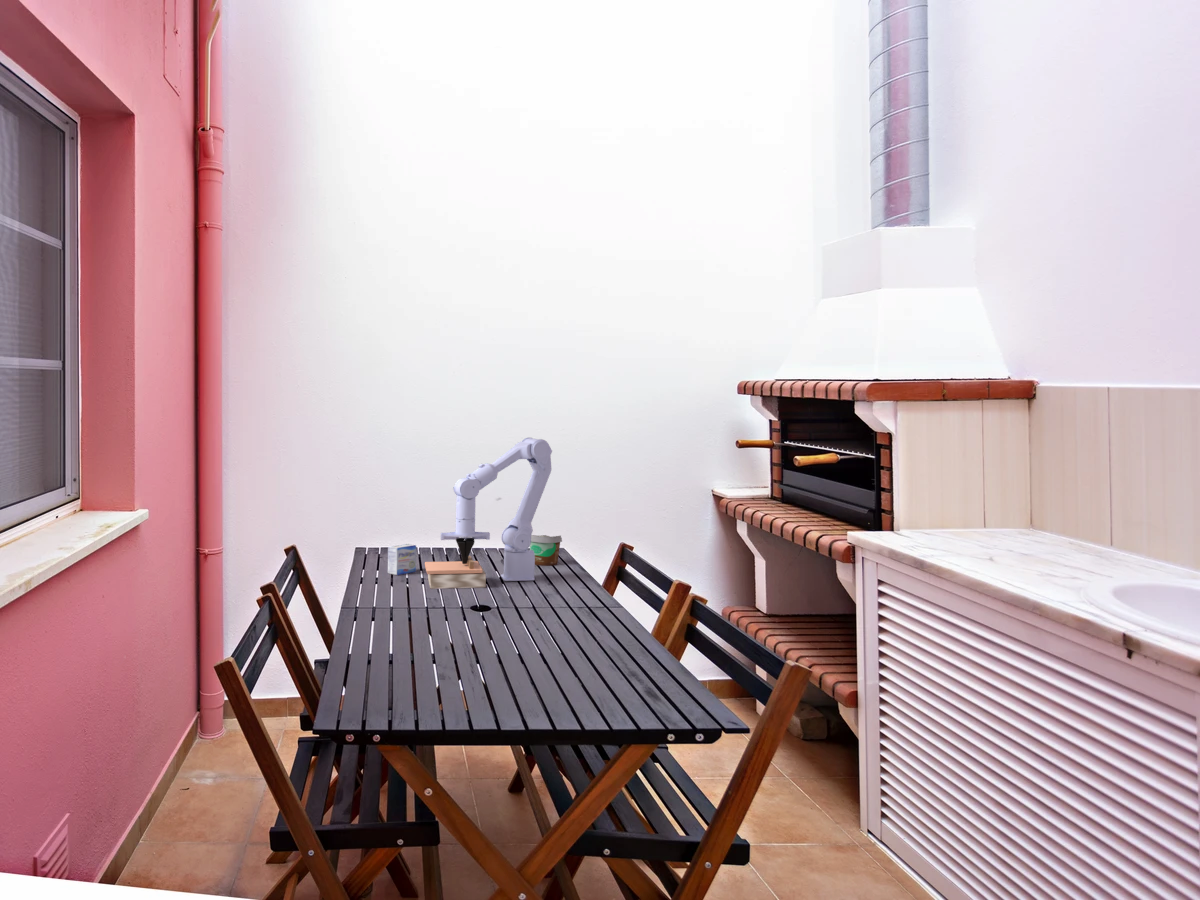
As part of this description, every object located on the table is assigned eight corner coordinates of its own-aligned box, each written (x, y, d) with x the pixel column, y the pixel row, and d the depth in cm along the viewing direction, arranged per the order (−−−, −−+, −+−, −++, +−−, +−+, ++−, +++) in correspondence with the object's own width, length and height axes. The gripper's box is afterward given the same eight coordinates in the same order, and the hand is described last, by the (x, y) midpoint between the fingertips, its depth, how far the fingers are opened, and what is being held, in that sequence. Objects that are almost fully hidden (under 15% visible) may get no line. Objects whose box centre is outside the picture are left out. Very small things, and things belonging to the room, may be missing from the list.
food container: (520, 564, 295) (521, 534, 295) (528, 561, 301) (529, 532, 300) (553, 568, 291) (554, 538, 290) (561, 564, 296) (562, 535, 296)
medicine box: (396, 575, 271) (397, 548, 271) (387, 573, 274) (387, 546, 273) (416, 572, 278) (416, 545, 277) (406, 570, 280) (407, 543, 280)
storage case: (480, 577, 272) (480, 565, 272) (485, 587, 259) (485, 574, 259) (427, 579, 268) (428, 566, 268) (430, 588, 255) (430, 575, 255)
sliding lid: (477, 564, 271) (477, 554, 271) (482, 573, 259) (482, 563, 259) (424, 565, 267) (425, 555, 267) (427, 574, 255) (427, 563, 255)
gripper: (488, 516, 269) (487, 560, 269) (440, 516, 265) (439, 561, 266) (491, 519, 262) (490, 564, 263) (441, 520, 258) (440, 565, 259)
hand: (464, 563), depth 264 cm, fingers closed
